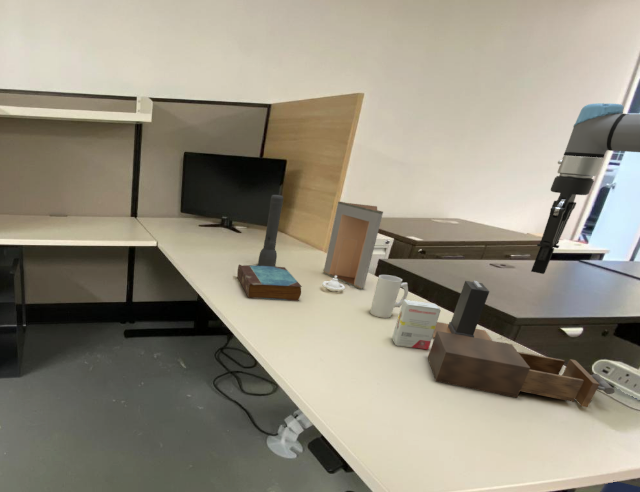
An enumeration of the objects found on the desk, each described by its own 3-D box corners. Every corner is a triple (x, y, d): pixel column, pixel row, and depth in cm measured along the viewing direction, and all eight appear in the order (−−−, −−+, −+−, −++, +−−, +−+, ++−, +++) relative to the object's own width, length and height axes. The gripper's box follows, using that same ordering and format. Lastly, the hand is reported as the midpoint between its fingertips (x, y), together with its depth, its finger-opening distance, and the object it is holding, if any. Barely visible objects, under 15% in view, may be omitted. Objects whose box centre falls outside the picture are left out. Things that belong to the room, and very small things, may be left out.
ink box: (423, 343, 129) (436, 302, 124) (428, 350, 124) (442, 309, 119) (391, 338, 130) (402, 298, 125) (394, 345, 126) (407, 304, 121)
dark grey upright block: (466, 329, 139) (483, 281, 133) (472, 340, 131) (492, 289, 125) (447, 326, 140) (464, 278, 134) (453, 337, 133) (471, 286, 126)
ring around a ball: (329, 285, 172) (316, 288, 168) (333, 270, 170) (319, 273, 165) (348, 292, 167) (334, 295, 162) (352, 277, 164) (338, 280, 160)
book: (236, 277, 173) (238, 264, 171) (283, 280, 174) (285, 267, 172) (247, 298, 153) (249, 283, 151) (300, 301, 154) (302, 286, 152)
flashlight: (254, 264, 192) (265, 269, 186) (264, 194, 180) (276, 197, 175) (267, 263, 195) (278, 268, 190) (278, 194, 183) (290, 197, 178)
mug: (373, 317, 145) (383, 280, 139) (365, 309, 151) (375, 274, 146) (405, 319, 145) (416, 282, 140) (396, 312, 151) (407, 276, 146)
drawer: (586, 385, 110) (598, 364, 107) (612, 412, 99) (625, 389, 97) (491, 367, 115) (500, 346, 113) (506, 390, 104) (515, 368, 102)
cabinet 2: (500, 371, 115) (512, 344, 112) (517, 398, 104) (530, 368, 100) (427, 357, 120) (436, 330, 117) (435, 381, 108) (446, 352, 105)
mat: (484, 332, 140) (485, 330, 140) (496, 350, 128) (497, 348, 128) (426, 321, 144) (427, 320, 144) (433, 338, 132) (433, 336, 132)
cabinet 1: (323, 273, 188) (338, 201, 176) (341, 272, 192) (357, 201, 180) (360, 289, 171) (379, 211, 159) (379, 288, 174) (400, 211, 163)
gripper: (562, 174, 118) (527, 265, 127) (550, 174, 110) (514, 272, 119) (599, 177, 113) (560, 272, 122) (590, 178, 105) (549, 279, 114)
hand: (537, 272), depth 121 cm, fingers closed
